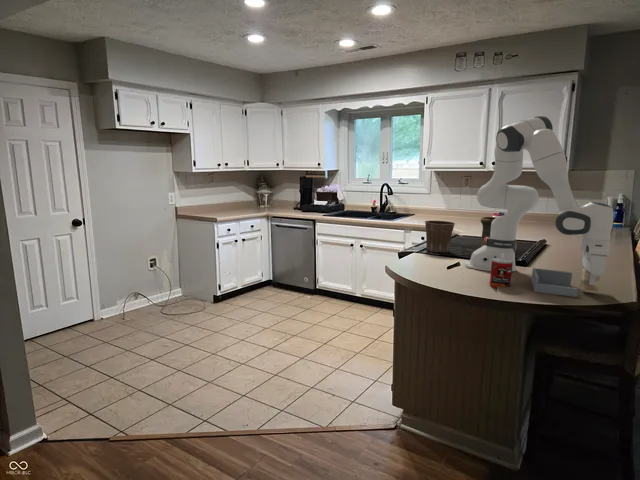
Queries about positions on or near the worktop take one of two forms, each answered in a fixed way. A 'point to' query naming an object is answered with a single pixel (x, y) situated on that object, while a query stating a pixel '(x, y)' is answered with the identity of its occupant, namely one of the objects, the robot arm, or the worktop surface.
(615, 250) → the worktop surface
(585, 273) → the birch block
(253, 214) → the worktop surface
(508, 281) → the canned food
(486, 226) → the vessel
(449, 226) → the plant pot
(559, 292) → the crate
